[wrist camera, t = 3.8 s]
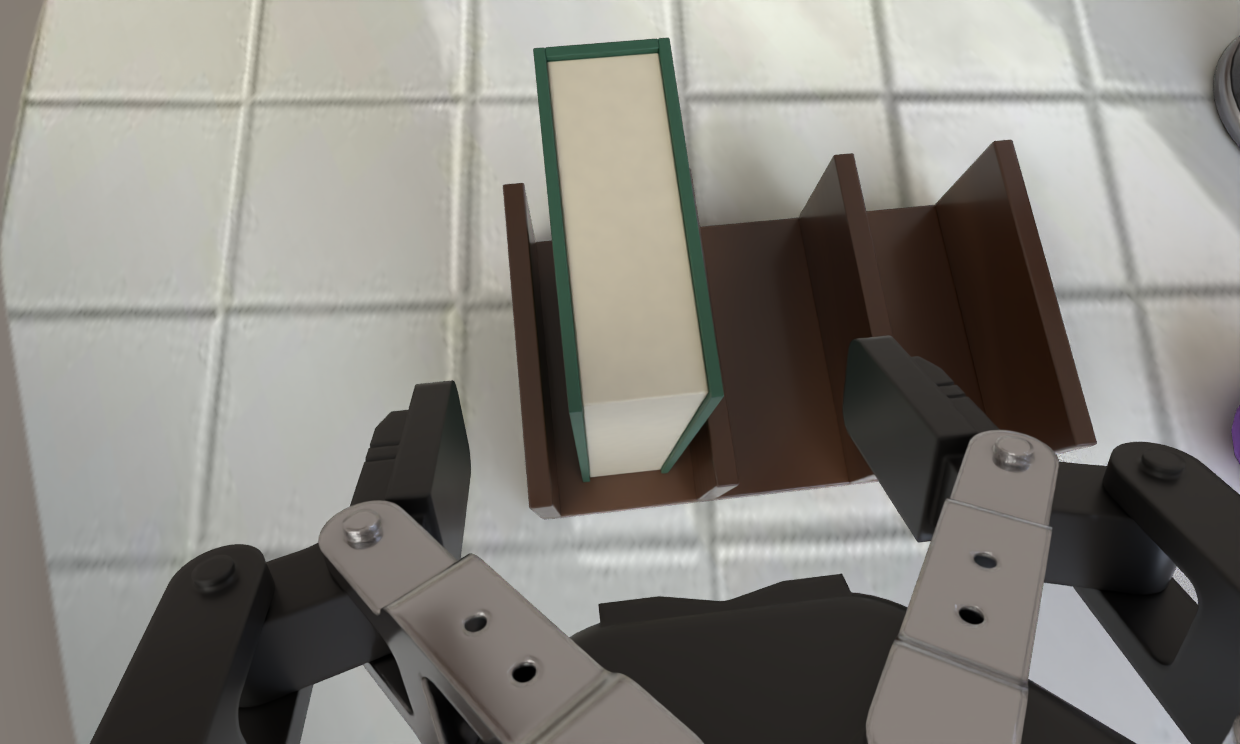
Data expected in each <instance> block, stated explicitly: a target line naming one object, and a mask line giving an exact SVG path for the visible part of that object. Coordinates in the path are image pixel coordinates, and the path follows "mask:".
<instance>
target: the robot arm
mask: <svg viewBox="0 0 1240 744" xmlns="http://www.w3.org/2000/svg"><path fill="white" fill-rule="evenodd" d="M1214 97H1215V102H1216V106H1217V110H1218V113H1219V115H1220V118H1221V120H1222V122H1223V124H1224V126H1225V128H1226V130H1227V131H1228V133H1229V134H1230V136H1231V137H1232V139H1233V140H1234V141H1235V143H1236V144H1237V145H1238V146H1239V147H1240V36H1239V37H1238V38H1237V39H1236V40H1234V41H1233V42H1232V43H1231V44H1230V45H1229V46H1228V47H1227V49H1226V50H1225V51H1224V53H1223V54H1222V56H1221V58H1220V60H1219V62H1218V65H1217V67H1216V71H1215V76H1214ZM842 412H843V419H844V424H845V427H846V430H847V432H848V434H849V436H850V437H851V439H852V440H853V442H854V443H855V445H856V447H857V448H858V450H859V451H860V453H861V454H862V456H863V458H864V459H865V461H866V462H867V464H868V465H869V467H870V468H871V470H872V472H873V473H874V475H875V476H876V478H877V479H878V481H879V483H880V484H881V486H882V487H883V489H884V490H885V492H886V493H887V495H888V497H889V498H890V500H891V501H892V503H893V504H894V506H895V508H896V509H897V511H898V512H899V514H900V515H901V517H902V518H903V520H904V522H905V523H906V525H907V526H908V528H909V529H910V531H911V532H912V534H913V536H914V537H915V539H916V540H917V542H926V541H931V543H930V545H929V548H928V551H927V554H926V557H925V560H924V563H923V565H922V568H921V571H920V574H919V577H918V580H917V583H916V586H915V588H914V591H913V594H912V597H911V600H910V603H909V606H908V608H907V607H905V606H903V605H901V604H898V603H895V602H893V601H890V600H887V599H883V598H880V597H876V596H872V595H866V594H861V593H852V592H851V591H850V589H849V587H848V585H847V583H846V581H845V579H844V577H843V575H842V574H837V575H828V576H820V577H812V578H804V579H796V580H788V581H782V582H779V583H776V584H773V585H771V586H768V587H765V588H762V589H759V590H757V591H754V592H751V593H748V594H745V595H742V596H740V597H737V598H734V599H731V600H727V601H711V600H699V599H686V598H674V597H661V596H658V597H650V598H642V599H634V600H625V601H617V602H609V603H601V604H599V614H600V623H599V624H596V625H593V626H591V627H588V628H586V629H584V630H582V631H580V632H578V633H576V634H574V635H573V636H571V637H568V636H567V635H566V634H565V633H563V632H562V631H561V630H560V629H559V628H558V627H557V626H556V625H555V624H553V623H552V622H551V621H550V620H549V619H548V618H547V617H546V616H544V615H543V614H542V613H541V612H540V611H539V610H538V609H537V608H536V607H534V606H533V605H532V604H531V603H530V602H529V601H528V600H527V599H526V598H524V597H523V596H522V595H521V594H520V593H519V592H518V591H517V590H515V589H514V588H513V587H512V586H511V585H510V584H509V583H508V582H507V581H505V580H504V579H503V578H502V577H501V576H500V575H499V574H498V573H496V572H495V571H494V570H493V569H492V568H491V567H490V566H489V565H488V564H486V563H485V562H484V561H483V560H482V559H481V558H479V557H478V556H476V555H475V554H468V555H466V556H465V557H463V558H461V551H462V543H463V535H464V526H465V518H466V509H467V501H468V493H469V484H470V476H471V460H470V450H469V444H468V439H467V434H466V429H465V424H464V420H463V415H462V410H461V405H460V400H459V395H458V391H457V387H456V384H455V382H454V381H453V380H452V381H443V382H433V383H424V384H416V385H415V388H414V391H413V395H412V399H411V402H410V406H409V410H402V411H393V412H390V413H389V414H388V415H387V417H386V418H385V419H384V420H383V421H382V422H381V423H380V424H379V425H378V426H377V427H376V428H375V431H374V434H373V437H372V440H371V443H370V448H369V449H368V452H367V455H366V462H364V465H363V468H362V471H361V474H360V477H359V480H358V483H357V486H356V489H355V492H354V495H353V498H352V501H351V504H350V507H348V508H346V509H344V510H342V511H341V512H339V513H337V514H336V515H335V516H333V517H332V518H331V519H330V520H329V521H328V522H327V523H326V524H325V525H324V527H323V528H322V530H321V532H320V535H319V541H318V543H317V544H315V545H313V546H311V547H308V548H306V549H303V550H301V551H298V552H295V553H292V554H289V555H286V556H283V557H280V558H277V559H274V560H271V561H268V562H266V561H265V558H264V556H263V554H262V553H261V551H260V550H258V549H257V548H255V547H253V546H250V545H244V544H235V545H227V546H222V547H219V548H216V549H213V550H210V551H208V552H205V553H203V554H201V555H199V556H197V557H196V558H194V559H193V560H191V561H189V562H188V563H187V564H186V565H184V566H183V567H182V568H181V569H180V570H179V571H178V572H177V573H176V574H175V575H174V576H173V578H172V579H171V581H170V582H169V584H168V586H167V588H166V590H165V592H164V594H163V596H162V598H161V600H160V602H159V604H158V606H157V608H156V610H155V612H154V614H153V616H152V618H151V620H150V623H149V625H148V627H147V629H146V631H145V633H144V635H143V637H142V639H141V641H140V643H139V645H138V647H137V649H136V651H135V653H134V655H133V657H132V659H131V661H130V663H129V665H128V667H127V669H126V671H125V673H124V675H123V677H122V679H121V681H120V684H119V686H118V688H117V690H116V692H115V694H114V696H113V698H112V700H111V702H110V704H109V706H108V708H107V710H106V712H105V714H104V716H103V718H102V720H101V722H100V724H99V726H98V728H97V730H96V732H95V734H94V736H93V738H92V740H91V743H90V744H300V740H301V736H302V732H303V727H304V723H305V719H306V714H307V710H308V705H309V701H310V697H311V692H312V688H313V684H315V683H318V682H320V681H323V680H325V679H328V678H330V677H333V676H335V675H338V674H340V673H343V672H345V671H348V670H350V669H353V668H355V667H358V666H360V665H364V667H365V669H366V670H367V671H368V672H369V674H370V675H371V676H372V678H373V679H374V680H375V682H376V683H377V684H378V686H379V687H380V688H381V689H382V691H383V692H384V693H385V695H386V696H387V697H388V699H389V700H390V701H391V703H392V704H393V705H394V706H395V708H396V709H397V710H398V712H399V713H400V714H401V716H402V717H403V718H404V720H405V721H406V722H407V723H408V725H409V726H410V727H411V729H412V730H413V731H414V733H415V734H416V736H417V737H418V739H419V740H420V742H421V744H1136V743H1134V742H1133V741H1131V740H1129V739H1128V738H1126V737H1124V736H1123V735H1121V734H1119V733H1118V732H1116V731H1114V730H1113V729H1111V728H1109V727H1108V726H1106V725H1104V724H1103V723H1101V722H1099V721H1098V720H1096V719H1094V718H1093V717H1091V716H1089V715H1088V714H1086V713H1084V712H1083V711H1081V710H1079V709H1078V708H1076V707H1074V706H1073V705H1071V704H1069V703H1068V702H1066V701H1064V700H1063V699H1061V698H1059V697H1058V696H1056V695H1054V694H1053V693H1051V692H1049V691H1048V690H1046V689H1044V688H1043V687H1041V686H1039V685H1038V684H1036V683H1034V682H1033V681H1031V680H1029V679H1028V676H1029V669H1030V663H1031V657H1032V651H1033V645H1034V639H1035V633H1036V626H1037V620H1038V614H1039V608H1040V602H1041V596H1042V590H1043V583H1051V584H1059V585H1067V586H1073V587H1074V589H1075V590H1076V592H1077V593H1078V594H1079V596H1080V597H1081V598H1082V600H1083V601H1084V602H1085V604H1086V605H1087V606H1088V608H1089V609H1090V610H1091V612H1092V613H1093V614H1094V616H1095V617H1096V618H1097V620H1098V621H1099V622H1100V624H1101V625H1102V626H1103V628H1104V629H1105V630H1106V632H1107V633H1108V634H1109V636H1110V637H1111V638H1112V640H1113V641H1114V642H1115V644H1116V645H1117V646H1118V648H1119V649H1120V650H1121V651H1122V653H1123V654H1124V655H1125V657H1126V658H1127V659H1128V661H1129V662H1130V663H1131V665H1132V666H1133V667H1134V669H1135V670H1136V671H1137V673H1138V674H1139V675H1140V677H1141V678H1142V679H1143V681H1144V682H1145V683H1146V685H1147V686H1148V687H1149V689H1150V690H1151V691H1152V693H1153V694H1154V695H1155V697H1156V698H1157V699H1158V701H1159V702H1160V703H1161V705H1162V706H1163V707H1164V709H1165V710H1166V711H1167V713H1168V714H1169V715H1170V717H1171V718H1172V719H1173V721H1174V722H1175V723H1176V725H1177V726H1178V727H1179V729H1180V730H1181V731H1182V733H1183V734H1184V735H1185V737H1186V738H1187V739H1188V741H1189V742H1190V743H1191V744H1240V495H1239V494H1238V493H1237V492H1236V491H1235V490H1233V489H1232V488H1231V487H1230V486H1229V485H1228V484H1226V483H1225V482H1224V481H1223V480H1222V479H1221V478H1219V477H1218V476H1217V475H1216V474H1215V473H1213V472H1212V471H1211V470H1210V469H1209V468H1208V467H1206V466H1205V465H1204V464H1203V463H1201V462H1200V461H1199V460H1197V459H1196V458H1194V457H1193V456H1191V455H1189V454H1187V453H1185V452H1183V451H1180V450H1178V449H1175V448H1172V447H1169V446H1165V445H1161V444H1156V443H1150V442H1130V443H1125V444H1121V445H1119V446H1117V447H1116V448H1115V449H1114V450H1113V451H1112V453H1111V456H1110V459H1109V462H1108V465H1107V466H1099V465H1088V464H1077V463H1067V462H1059V460H1058V457H1057V455H1056V453H1055V452H1054V451H1053V450H1052V449H1051V448H1050V447H1049V446H1048V445H1046V444H1045V443H1043V442H1041V441H1040V440H1038V439H1036V438H1034V437H1031V436H1028V435H1026V434H1022V433H1019V432H1013V431H1006V430H1000V429H999V428H998V427H997V426H996V425H995V424H994V423H993V422H992V421H991V420H990V419H989V418H988V417H987V416H986V415H985V414H984V412H983V411H982V410H981V409H980V408H979V407H978V406H977V405H976V404H975V403H974V402H973V401H972V400H971V399H970V398H969V397H966V395H965V393H964V392H963V391H962V389H961V388H960V387H959V386H958V385H955V384H954V381H953V380H952V379H951V378H950V377H949V376H948V375H947V374H946V373H945V372H944V371H943V370H942V369H941V368H940V367H938V366H936V365H935V364H933V363H931V362H929V361H927V360H925V359H923V358H921V357H919V356H915V357H911V356H910V355H909V354H908V353H907V352H906V351H905V350H904V349H903V348H902V346H901V345H900V344H899V343H898V342H897V341H896V340H895V339H894V338H893V337H892V336H889V335H888V336H878V337H869V338H859V339H853V340H852V341H851V342H850V345H849V348H848V356H847V365H846V374H845V384H844V393H843V403H842ZM1176 566H1177V567H1178V568H1179V569H1180V570H1181V571H1182V572H1183V573H1184V574H1185V575H1186V576H1187V577H1188V579H1189V580H1190V581H1191V583H1192V584H1193V586H1194V588H1195V591H1196V593H1197V597H1198V605H1197V603H1196V602H1195V601H1194V600H1193V599H1192V598H1191V597H1190V596H1189V595H1188V594H1187V593H1186V591H1185V590H1184V589H1183V588H1182V587H1181V586H1180V585H1179V584H1178V583H1177V582H1176V581H1175V579H1174V578H1173V577H1172V576H1173V573H1174V571H1175V569H1176Z"/></svg>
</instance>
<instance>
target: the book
mask: <svg viewBox="0 0 1240 744" xmlns="http://www.w3.org/2000/svg"><path fill="white" fill-rule="evenodd" d="M533 52H534V62H535V73H536V83H537V93H538V103H539V113H540V123H541V133H542V144H543V154H544V164H545V174H546V184H547V194H548V204H549V215H550V225H551V235H552V245H553V255H554V265H555V275H556V286H557V296H558V306H559V316H560V326H561V336H562V346H563V357H564V367H565V377H566V387H567V397H568V407H569V414H570V419H571V425H572V430H573V435H574V440H575V445H576V450H577V455H578V460H579V465H580V470H581V475H582V480H583V482H590V477H597V476H606V475H615V474H624V473H633V472H642V471H651V470H660V469H661V473H668V472H669V471H670V469H671V468H672V467H673V465H674V464H675V463H676V461H677V460H678V458H679V457H680V456H681V454H682V453H683V452H684V450H685V449H686V448H687V446H688V445H689V443H690V442H691V441H692V439H693V438H694V437H695V435H696V434H697V432H698V431H699V430H700V428H701V427H702V426H703V424H704V423H705V421H706V420H707V419H708V417H709V416H710V415H711V413H712V412H713V411H714V409H715V408H716V406H717V405H718V404H719V402H720V401H721V400H722V398H723V397H724V390H723V384H722V377H721V371H720V364H719V358H718V351H717V345H716V338H715V332H714V325H713V319H712V312H711V306H710V299H709V293H708V286H707V280H706V273H705V267H704V260H703V254H702V247H701V241H700V234H699V228H698V221H697V215H696V208H695V202H694V195H693V189H692V182H691V176H690V169H689V163H688V156H687V150H686V143H685V136H684V130H683V123H682V117H681V110H680V104H679V97H678V91H677V84H676V78H675V71H674V65H673V58H672V52H671V45H670V39H669V38H659V39H645V40H633V41H620V42H607V43H595V44H582V45H570V46H557V47H546V48H534V49H533Z"/></svg>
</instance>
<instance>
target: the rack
mask: <svg viewBox="0 0 1240 744" xmlns="http://www.w3.org/2000/svg"><path fill="white" fill-rule="evenodd" d="M689 169H690V168H689ZM690 176H691V182H692V189H693V195H694V202H695V208H696V215H697V221H698V228H699V234H700V241H701V247H702V254H703V260H704V267H705V273H706V280H707V286H708V293H709V299H710V306H711V312H712V319H713V325H714V332H715V338H716V345H717V351H718V358H719V364H720V371H721V377H722V384H723V390H724V397H723V398H722V400H721V401H720V402H719V404H718V405H717V406H716V408H715V409H714V411H713V412H712V413H711V415H710V416H709V417H708V419H707V420H706V421H705V423H704V424H703V426H702V427H701V428H700V430H699V431H698V432H697V434H696V435H695V437H694V438H693V439H692V441H691V442H690V443H689V445H688V446H687V448H686V449H685V450H684V452H683V453H682V454H681V456H680V457H679V458H678V460H677V461H676V463H675V464H674V465H673V467H672V468H671V469H670V471H669V472H668V473H661V469H660V470H651V471H642V472H633V473H624V474H615V475H606V476H597V477H590V482H583V480H582V475H581V470H580V465H579V460H578V455H577V450H576V445H575V440H574V435H573V430H572V425H571V419H570V414H569V407H568V397H567V387H566V377H565V367H564V357H563V346H562V336H561V326H560V316H559V306H558V296H557V286H556V275H555V265H554V255H553V245H552V241H544V242H536V241H535V236H534V231H533V226H532V221H531V216H530V211H529V206H528V201H527V196H526V190H525V185H524V183H516V184H505V185H503V194H504V206H505V218H506V231H507V243H508V255H509V267H510V279H511V291H512V304H513V316H514V328H515V340H516V352H517V365H518V377H519V389H520V401H521V413H522V426H523V438H524V450H525V462H526V474H527V487H528V499H529V508H530V509H531V510H532V511H534V512H535V513H536V514H537V515H538V516H540V517H541V518H542V519H544V520H546V519H555V518H564V517H572V516H581V515H590V514H599V513H607V512H616V511H625V510H634V509H642V508H651V507H660V506H669V505H678V504H686V503H695V502H704V501H713V500H721V499H730V498H739V497H748V496H756V495H765V494H774V493H783V492H792V491H800V490H809V489H818V488H827V487H835V486H844V485H853V484H862V483H870V482H879V481H878V479H877V478H876V476H875V475H874V473H873V472H872V470H871V468H870V467H869V465H868V464H867V462H866V461H865V459H864V458H863V456H862V454H861V453H860V451H859V450H858V448H857V447H856V445H855V443H854V442H853V440H852V439H851V437H850V436H849V434H848V432H847V430H846V427H845V424H844V419H843V412H842V403H843V393H844V384H845V374H846V365H847V356H848V348H849V345H850V342H851V341H852V340H853V339H859V338H869V337H878V336H888V335H889V336H892V337H893V338H894V339H895V340H896V341H897V342H898V343H899V344H900V345H901V346H902V348H903V349H904V350H905V351H906V352H907V353H908V354H909V355H910V356H911V357H915V356H919V357H921V358H923V359H925V360H927V361H929V362H931V363H933V364H935V365H936V366H938V367H940V368H941V369H942V370H943V371H944V372H945V373H946V374H947V375H948V376H949V377H950V378H951V379H952V380H953V381H954V384H955V385H958V386H959V387H960V388H961V389H962V391H963V392H964V393H965V395H966V397H969V398H970V399H971V400H972V401H973V402H974V403H975V404H976V405H977V406H978V407H979V408H980V409H981V410H982V411H983V412H984V414H985V415H986V416H987V417H988V418H989V419H990V420H991V421H992V422H993V423H994V424H995V425H996V426H997V427H998V428H999V429H1000V430H1006V431H1013V432H1019V433H1022V434H1026V435H1028V436H1031V437H1034V438H1036V439H1038V440H1040V441H1041V442H1043V443H1045V444H1046V445H1048V446H1049V447H1050V448H1051V449H1052V450H1053V451H1054V452H1055V453H1056V455H1057V454H1061V453H1065V452H1069V451H1073V450H1077V449H1081V448H1085V447H1089V446H1094V445H1096V444H1097V441H1096V438H1095V434H1094V431H1093V427H1092V424H1091V420H1090V416H1089V413H1088V409H1087V406H1086V402H1085V399H1084V395H1083V391H1082V388H1081V384H1080V381H1079V377H1078V373H1077V370H1076V366H1075V363H1074V359H1073V356H1072V352H1071V348H1070V345H1069V341H1068V338H1067V334H1066V331H1065V327H1064V323H1063V320H1062V316H1061V313H1060V309H1059V306H1058V302H1057V298H1056V295H1055V291H1054V288H1053V284H1052V280H1051V277H1050V273H1049V270H1048V266H1047V263H1046V259H1045V255H1044V252H1043V248H1042V245H1041V241H1040V238H1039V234H1038V230H1037V227H1036V223H1035V220H1034V216H1033V212H1032V209H1031V205H1030V202H1029V198H1028V195H1027V191H1026V187H1025V184H1024V180H1023V177H1022V173H1021V170H1020V166H1019V162H1018V159H1017V155H1016V152H1015V148H1014V144H1013V141H1012V140H1002V141H994V142H992V144H991V145H990V146H989V147H988V148H987V149H986V150H985V151H984V152H983V153H982V154H981V155H980V156H979V158H978V159H977V160H976V161H975V162H974V163H973V164H972V165H971V166H970V167H969V168H968V169H967V171H966V172H965V173H964V174H963V175H962V176H961V177H960V178H959V179H958V180H957V181H956V182H955V183H954V185H953V186H952V187H951V188H950V189H949V190H948V191H947V192H946V193H945V194H944V195H943V196H942V197H941V199H940V200H939V201H938V202H937V203H936V205H929V206H919V207H908V208H897V209H887V210H876V211H866V208H865V204H864V199H863V195H862V190H861V185H860V181H859V176H858V172H857V167H856V162H855V158H854V154H853V153H851V154H840V155H834V156H833V158H832V159H831V161H830V163H829V165H828V166H827V168H826V170H825V172H824V173H823V175H822V177H821V179H820V180H819V182H818V184H817V186H816V187H815V189H814V191H813V193H812V194H811V196H810V198H809V200H808V201H807V203H806V205H805V207H804V209H803V210H802V212H801V214H800V216H799V218H790V219H780V220H769V221H758V222H748V223H737V224H726V225H715V226H705V227H700V225H699V218H698V212H697V205H696V199H695V192H694V186H693V179H692V173H691V169H690Z"/></svg>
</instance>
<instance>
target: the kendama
mask: <svg viewBox="0 0 1240 744" xmlns="http://www.w3.org/2000/svg"><path fill="white" fill-rule="evenodd" d="M1231 431H1232V439H1233V446H1234V454H1235V457H1236V458H1237V460H1238V462H1239V464H1240V405H1239V407H1238V408H1237V410H1236V413H1235V417H1234V421H1233V425H1232V430H1231Z"/></svg>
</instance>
